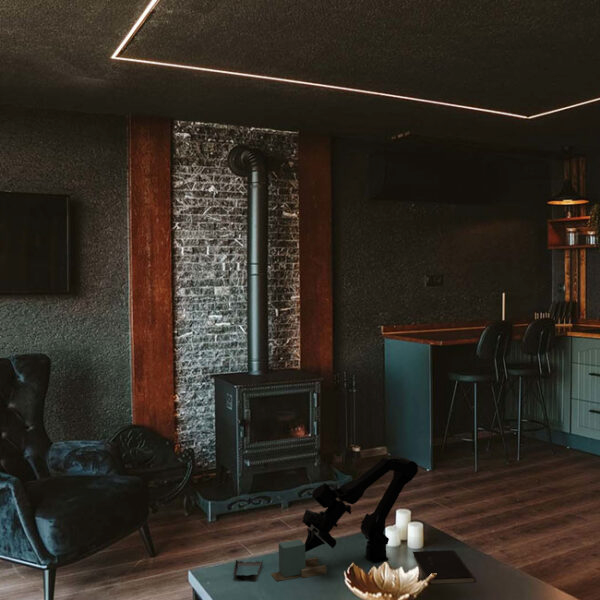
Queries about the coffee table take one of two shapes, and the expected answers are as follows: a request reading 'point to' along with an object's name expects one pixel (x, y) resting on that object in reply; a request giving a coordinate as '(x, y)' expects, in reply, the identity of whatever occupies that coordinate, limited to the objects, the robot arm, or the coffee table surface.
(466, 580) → the hardcover book
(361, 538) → the coffee table surface
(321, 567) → the chute
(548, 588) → the coffee table surface
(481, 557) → the coffee table surface
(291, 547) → the block
